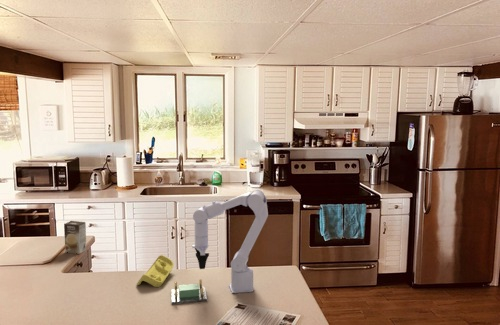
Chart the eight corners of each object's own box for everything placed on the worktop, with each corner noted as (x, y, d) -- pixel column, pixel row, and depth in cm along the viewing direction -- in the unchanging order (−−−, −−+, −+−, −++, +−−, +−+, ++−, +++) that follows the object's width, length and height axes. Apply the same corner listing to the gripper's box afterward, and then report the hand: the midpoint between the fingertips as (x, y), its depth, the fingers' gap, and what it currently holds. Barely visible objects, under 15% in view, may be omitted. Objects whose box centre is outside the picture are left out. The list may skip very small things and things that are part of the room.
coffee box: (64, 252, 201) (63, 223, 199) (72, 248, 208) (70, 220, 206) (79, 254, 200) (78, 225, 198) (87, 249, 206) (85, 221, 204)
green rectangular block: (198, 290, 159) (198, 283, 158) (199, 295, 154) (198, 289, 153) (179, 291, 157) (178, 285, 157) (179, 297, 152) (179, 290, 152)
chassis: (204, 288, 162) (204, 277, 162) (206, 301, 152) (206, 289, 151) (171, 291, 159) (171, 280, 159) (171, 304, 149) (171, 292, 148)
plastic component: (161, 283, 162) (141, 272, 162) (155, 296, 164) (135, 286, 164) (176, 262, 181) (158, 252, 181) (170, 274, 183) (152, 265, 183)
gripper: (191, 230, 169) (191, 259, 170) (193, 241, 155) (193, 272, 156) (206, 229, 170) (206, 258, 172) (210, 240, 156) (210, 271, 158)
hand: (201, 265), depth 164 cm, fingers open, 7 cm apart
